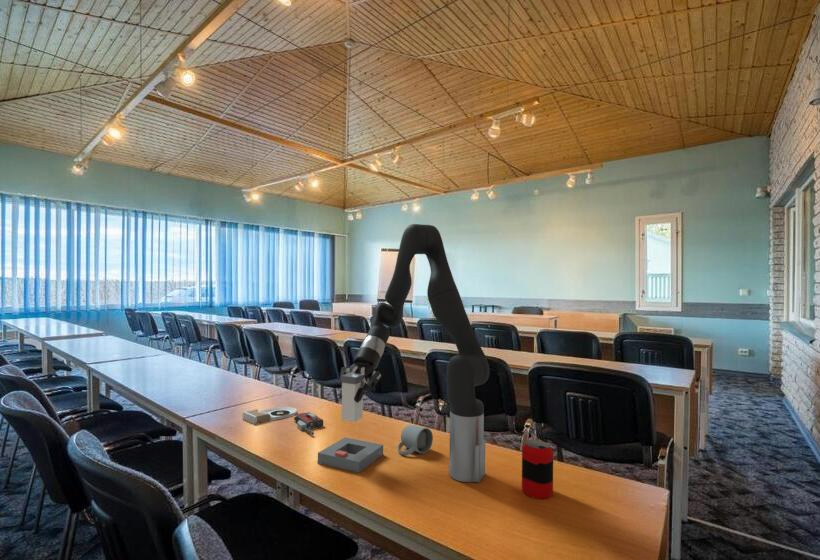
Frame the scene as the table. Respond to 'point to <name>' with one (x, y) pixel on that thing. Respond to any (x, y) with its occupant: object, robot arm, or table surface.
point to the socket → (355, 461)
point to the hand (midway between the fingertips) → (348, 399)
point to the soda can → (537, 469)
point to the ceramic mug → (415, 439)
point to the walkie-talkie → (308, 422)
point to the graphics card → (268, 414)
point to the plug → (351, 397)
